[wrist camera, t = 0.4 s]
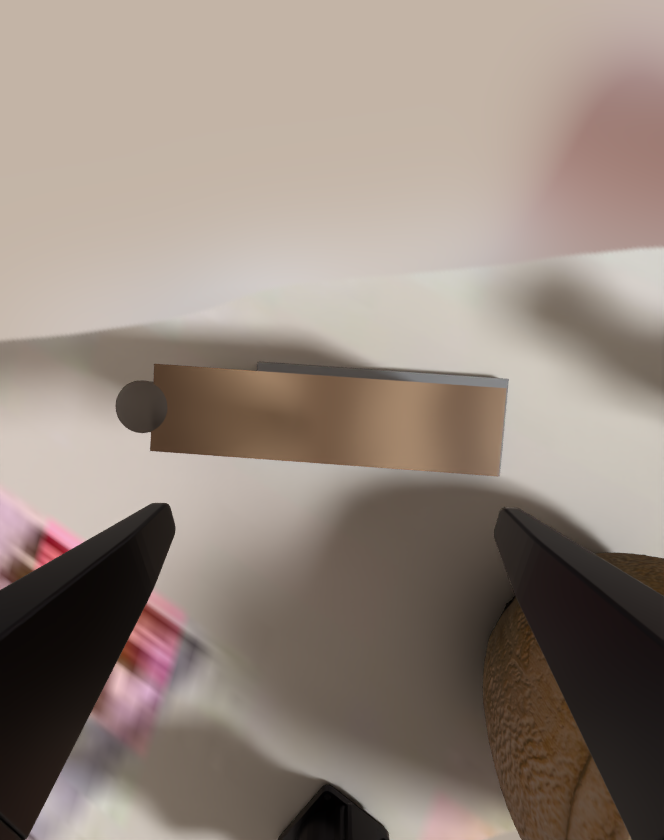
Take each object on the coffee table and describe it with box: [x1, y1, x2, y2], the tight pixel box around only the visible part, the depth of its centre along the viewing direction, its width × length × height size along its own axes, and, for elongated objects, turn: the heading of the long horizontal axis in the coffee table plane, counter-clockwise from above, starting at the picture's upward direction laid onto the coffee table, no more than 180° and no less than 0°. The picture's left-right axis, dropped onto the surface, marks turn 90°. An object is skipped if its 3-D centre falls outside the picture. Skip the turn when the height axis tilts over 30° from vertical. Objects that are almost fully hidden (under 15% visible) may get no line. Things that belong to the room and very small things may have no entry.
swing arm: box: [116, 364, 507, 476], centre depth 18 cm, size 18×4×8 cm, turn 86°
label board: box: [257, 362, 509, 476], centre depth 23 cm, size 18×7×1 cm, turn 86°
